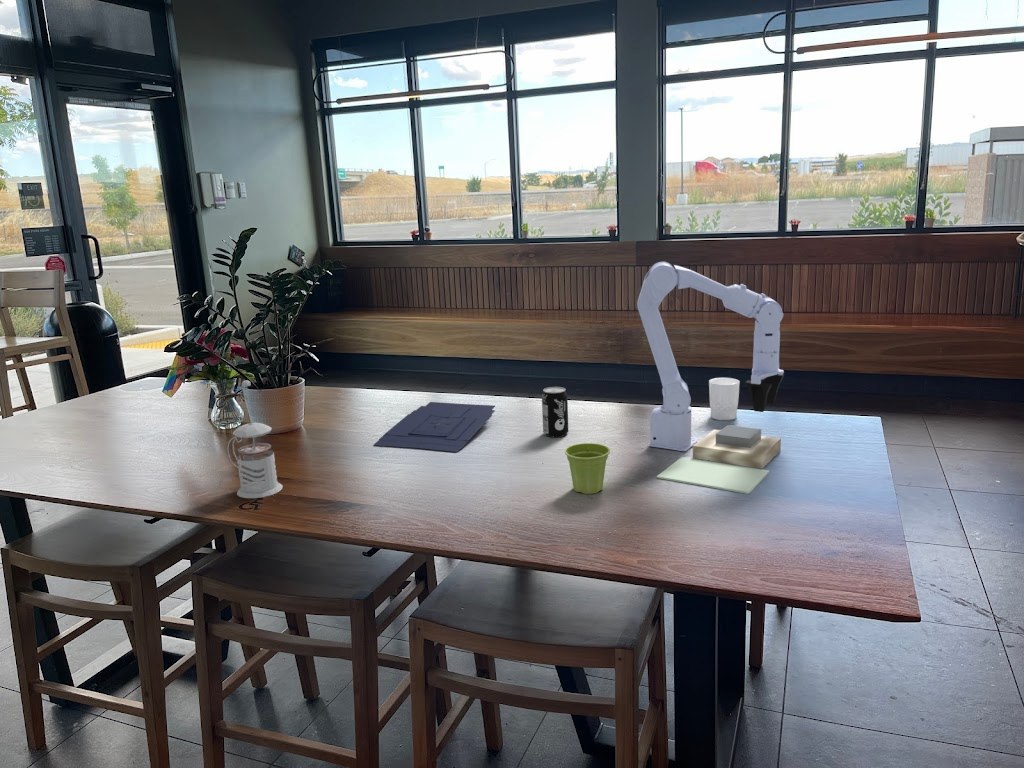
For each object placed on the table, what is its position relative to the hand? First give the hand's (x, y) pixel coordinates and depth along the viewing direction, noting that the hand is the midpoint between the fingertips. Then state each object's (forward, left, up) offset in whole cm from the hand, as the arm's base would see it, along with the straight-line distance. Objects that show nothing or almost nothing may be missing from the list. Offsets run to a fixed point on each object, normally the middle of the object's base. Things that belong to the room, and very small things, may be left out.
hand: (764, 407), depth 183 cm
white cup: (-16, +19, -10) cm, 27 cm away
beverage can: (-49, -14, -10) cm, 52 cm away
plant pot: (-23, -44, -10) cm, 50 cm away
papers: (-78, -26, -10) cm, 83 cm away
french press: (-88, -78, -10) cm, 118 cm away
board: (-3, -9, -10) cm, 13 cm away
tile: (-3, -8, -7) cm, 11 cm away
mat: (-3, -24, -10) cm, 26 cm away
